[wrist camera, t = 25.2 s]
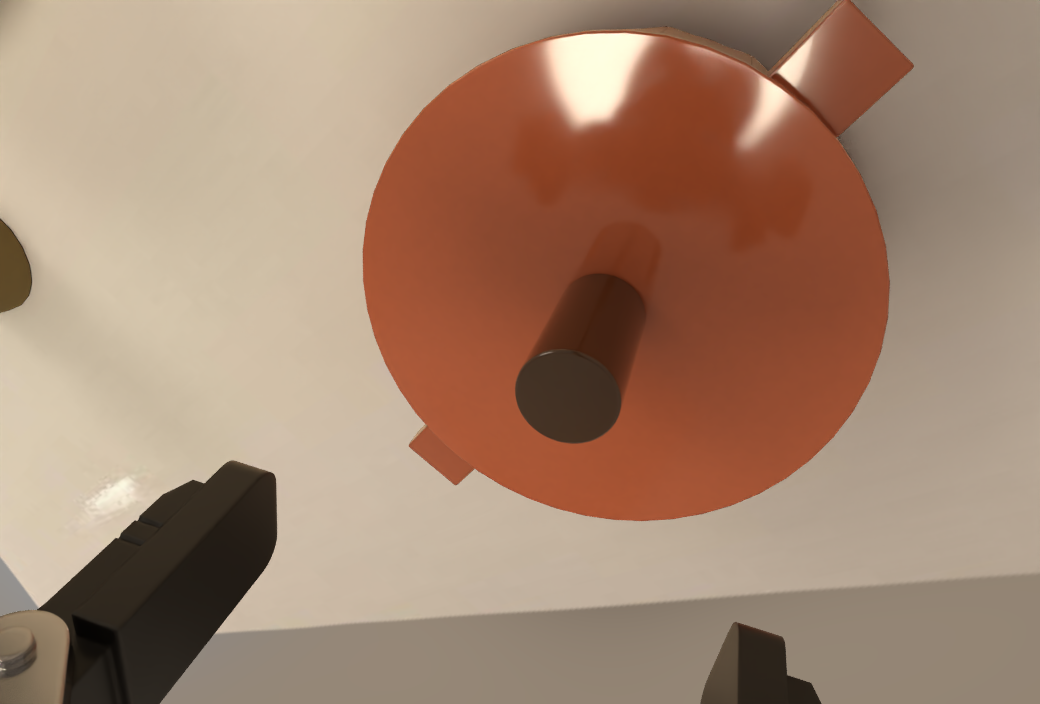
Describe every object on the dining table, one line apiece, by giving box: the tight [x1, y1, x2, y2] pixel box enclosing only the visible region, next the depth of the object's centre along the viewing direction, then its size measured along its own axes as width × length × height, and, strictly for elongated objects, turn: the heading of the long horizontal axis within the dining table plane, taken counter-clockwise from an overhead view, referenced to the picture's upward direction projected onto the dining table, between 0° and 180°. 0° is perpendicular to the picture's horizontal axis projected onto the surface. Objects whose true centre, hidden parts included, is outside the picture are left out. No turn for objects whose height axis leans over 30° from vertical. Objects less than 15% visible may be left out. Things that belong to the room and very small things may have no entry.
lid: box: [363, 29, 890, 521], centre depth 20 cm, size 15×15×6 cm
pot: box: [409, 0, 914, 485], centre depth 25 cm, size 14×20×7 cm
